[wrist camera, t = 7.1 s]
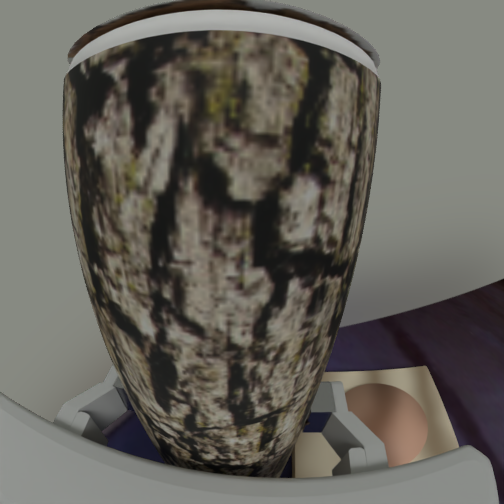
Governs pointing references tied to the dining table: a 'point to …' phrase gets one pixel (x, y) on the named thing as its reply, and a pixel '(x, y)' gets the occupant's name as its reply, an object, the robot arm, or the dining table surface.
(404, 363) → the dining table surface
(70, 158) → the bark print tube
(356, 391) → the holder board
